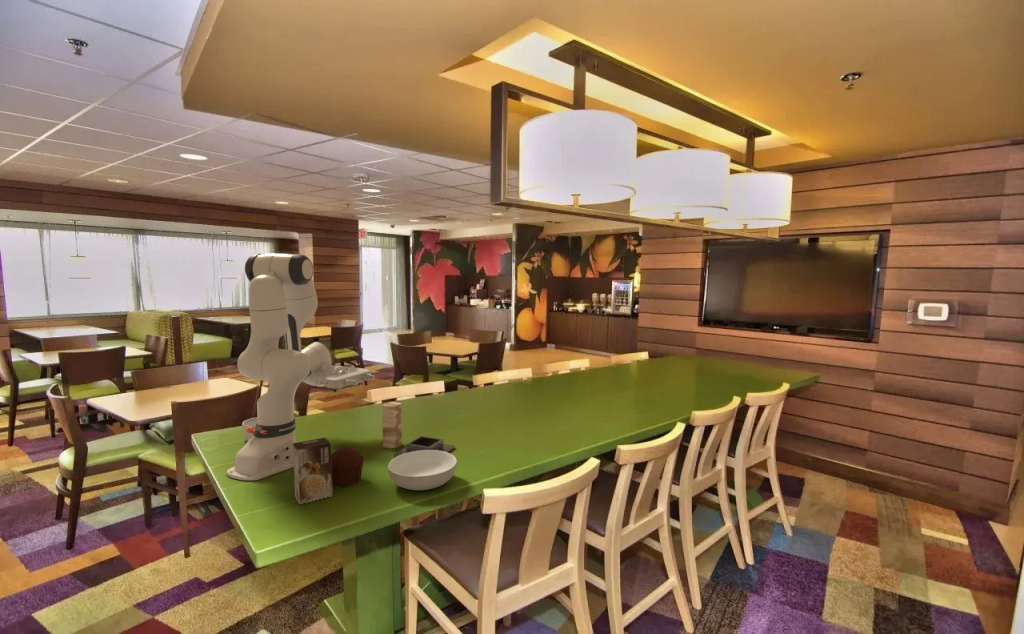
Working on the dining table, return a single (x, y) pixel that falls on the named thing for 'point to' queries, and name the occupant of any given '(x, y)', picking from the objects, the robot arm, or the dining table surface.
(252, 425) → the ramekin
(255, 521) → the dining table surface
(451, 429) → the dining table surface
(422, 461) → the serving bowl
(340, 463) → the muffin
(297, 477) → the printed cardboard box
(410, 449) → the collar
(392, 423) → the pillar
